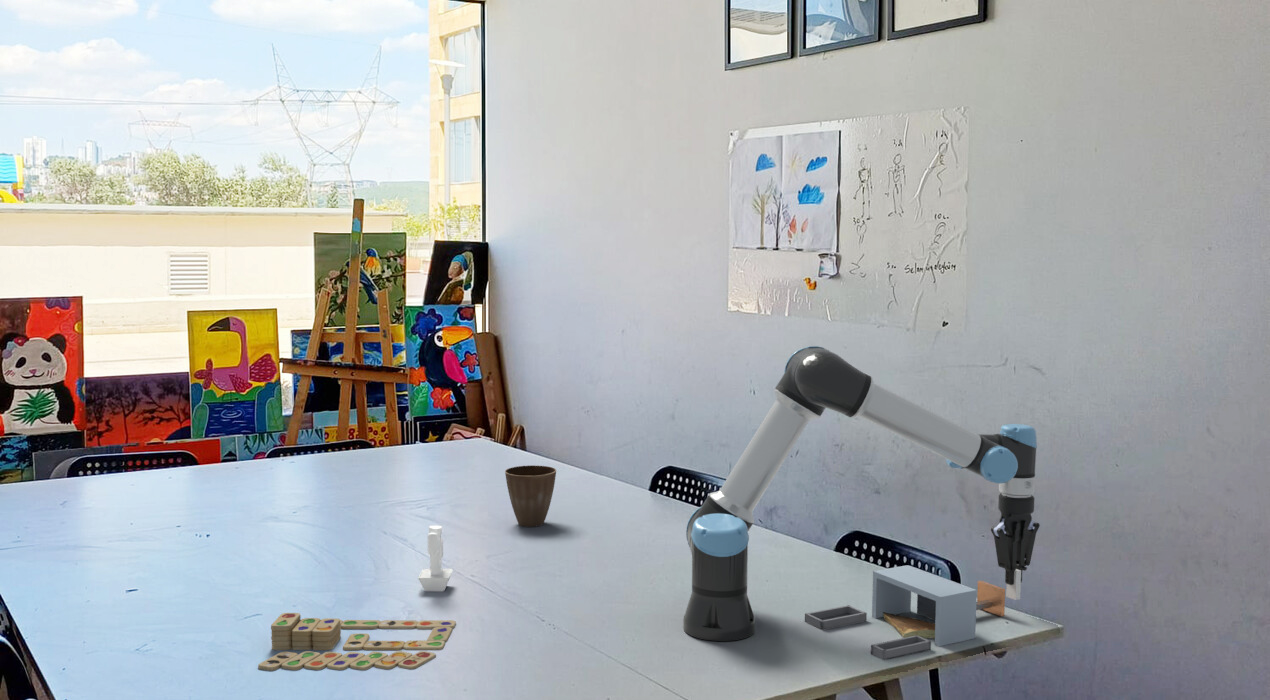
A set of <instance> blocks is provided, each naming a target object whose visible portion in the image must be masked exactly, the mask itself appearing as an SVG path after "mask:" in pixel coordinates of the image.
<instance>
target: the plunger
mask: <svg viewBox="0 0 1270 700" xmlns="http://www.w3.org/2000/svg"><path fill="white" fill-rule="evenodd" d="M916 596H917V597H916V600H917V601H916V603H917V604H916V613H917V615H920V616H922V617H924V618H927V619H930V620H932V621H934V622H935V620H936V601H934V600H932V599H929V598H927V597H924V596H921V595H919V594H917V595H916ZM1005 606H1006V588H1004V587H1000V586H998V585H995V584H992V583H989V582H987V581H984V580H978V581H977V599H976V611H979V610H982V611H986V612H988V613H990V614H994V615H996V616H999V617H1005V609H1006V607H1005Z"/></svg>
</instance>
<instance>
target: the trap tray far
mask: <svg viewBox="0 0 1270 700" xmlns="http://www.w3.org/2000/svg"><path fill="white" fill-rule="evenodd" d="M867 614H868V613H867V612H865V611H864V610H860V609H858V608H856V607H853V606H851V605H849V604H847V605H841V606H837V607H832V608H827V609H822V610H817V611H810V612H806V613H804V622H805V623H807V624H809V625H811V626H813V627H816V628H817V629H818V630H821V631H824V630H829V629H833V628H839V627H845V626H848V625H849V626H850V625H854V624H858V623H859V624H860V623H864V622H867V617H868V616H867Z"/></svg>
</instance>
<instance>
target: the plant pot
mask: <svg viewBox="0 0 1270 700" xmlns="http://www.w3.org/2000/svg"><path fill="white" fill-rule="evenodd" d="M504 474H505V481H506V487H507V492H508V495H509V496H508V497H509V500H510V503H511V507H512V511H513V513H514V516H515V518H516V521H517V524H518V525H519V526H520V527H524V528H525V527H527V528H534V527H535V528H536V527H540V526H543V525H544V524H545V521H546V518H547V516H548V512H549V509H550V506H551V502H552V499H553V492H554V488H555V483H556V475H557V469H556V468H555V467H551V466H547V465H535V464H534V465H519V466H512V467H508V468H506V469H505V471H504Z"/></svg>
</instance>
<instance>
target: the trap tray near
mask: <svg viewBox="0 0 1270 700" xmlns="http://www.w3.org/2000/svg"><path fill="white" fill-rule="evenodd" d="M931 650H932V641H931V640H929V639H928V638H922V637H920V636H918V635H915V636H911V637H906V638H904V637H902V638H897V639H892V640H888V641H883V642H879V643H874V644H871V645H870V654H871V655H872V656H875V657H876V658H879V659H881V660H882V661H887V660H892V659H896V658H901V657H906V656H909V655H914V654H919V653H923V652H929V651H931Z"/></svg>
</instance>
